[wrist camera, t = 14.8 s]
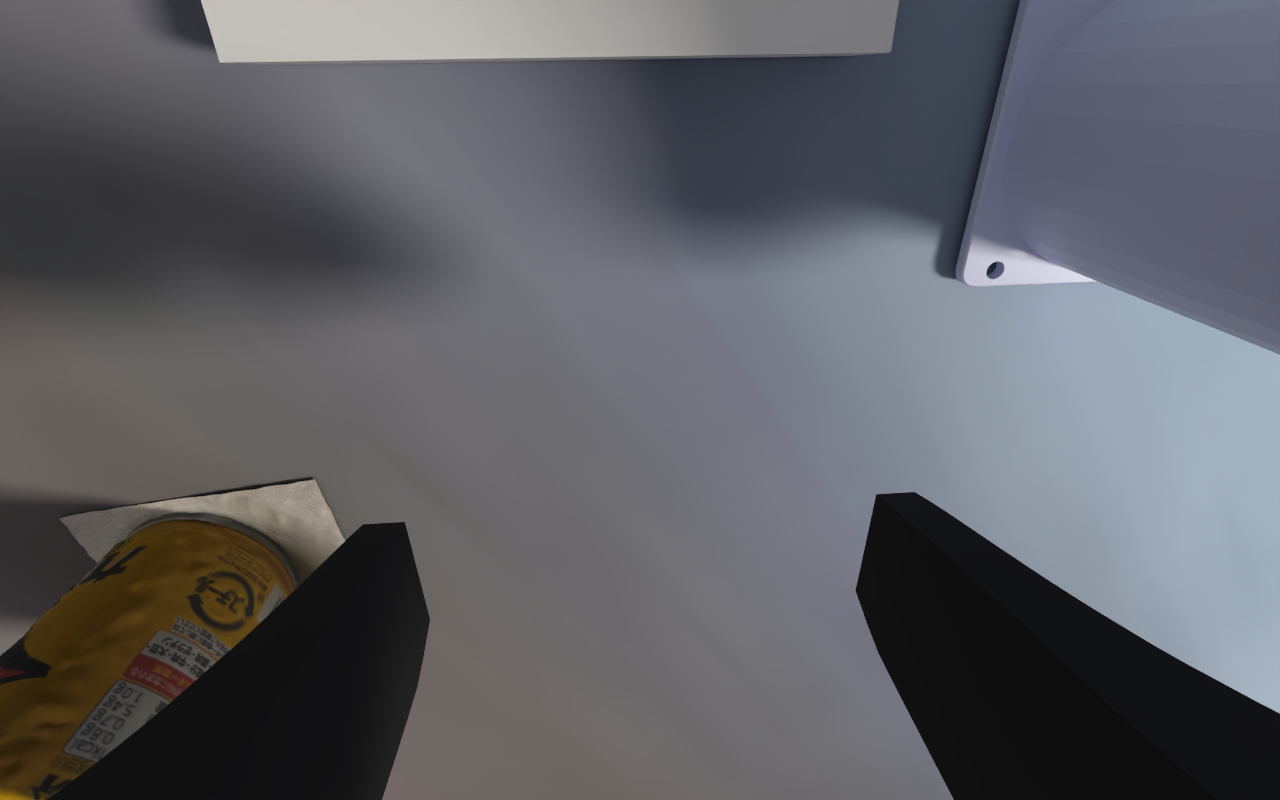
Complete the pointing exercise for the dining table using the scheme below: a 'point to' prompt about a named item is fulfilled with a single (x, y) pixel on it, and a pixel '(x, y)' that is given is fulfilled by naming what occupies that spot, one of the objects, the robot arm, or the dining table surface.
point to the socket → (543, 30)
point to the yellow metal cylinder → (148, 621)
